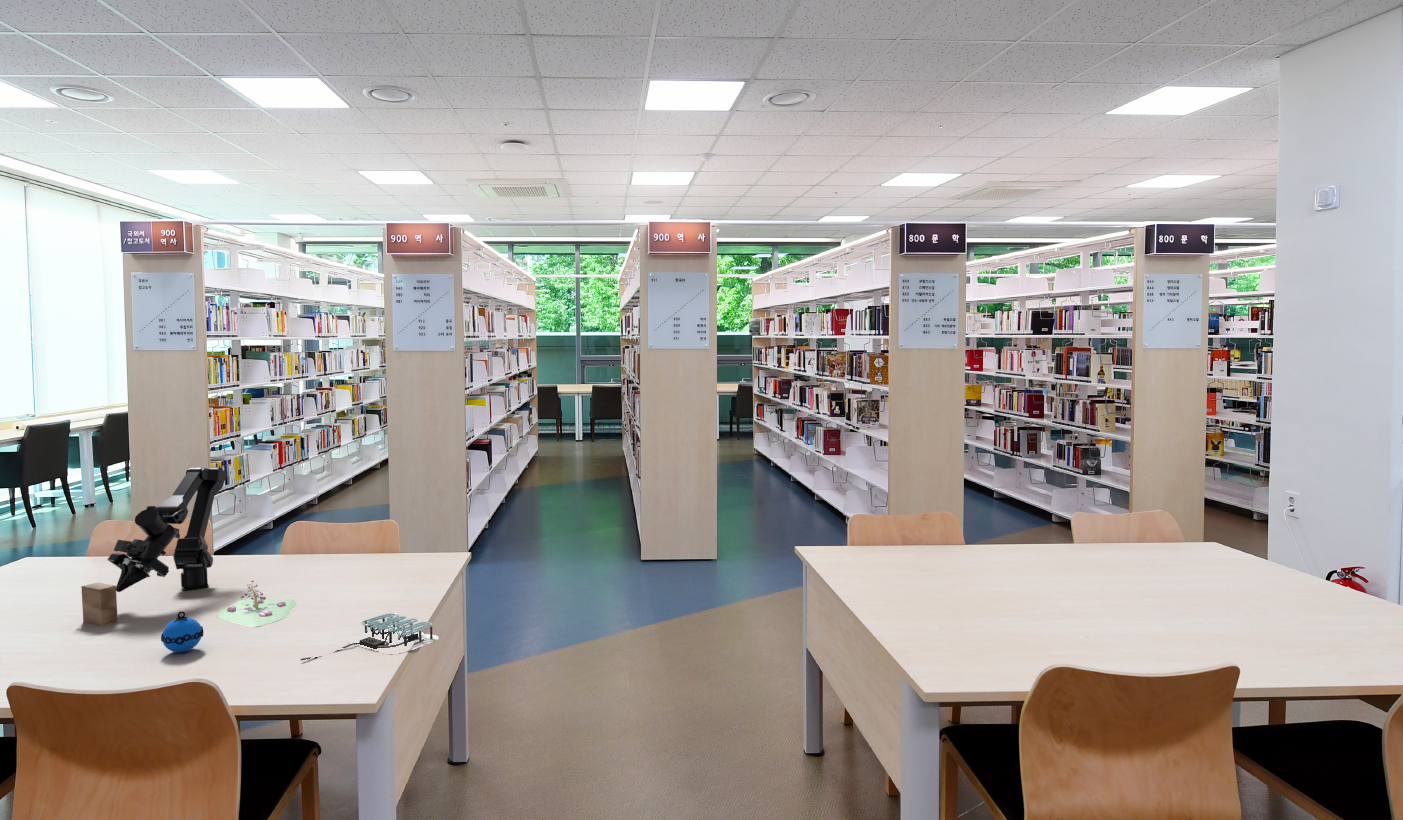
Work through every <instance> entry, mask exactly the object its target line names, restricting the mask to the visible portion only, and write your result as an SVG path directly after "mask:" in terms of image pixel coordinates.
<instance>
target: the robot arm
mask: <svg viewBox="0 0 1403 820" xmlns="http://www.w3.org/2000/svg"><path fill="white" fill-rule="evenodd" d="M226 480H227V472H226V471H225V470H224V468H222V467H220V466H219V467H218V466H215V467H206V466H205V467H190V468H187V469H186V471H185V475H184V477H183V478H182V480H181V481H180V482H179V484H178V486H177V487H176V489H175V490H174V491H173V493H172V494H171V496H169V498H166V499H164V500H163V501H161V502H160V503H159V504H158V506H156V505H147V506H146V508H145V509H144V510H142V511H140V512H139V513H137V515H135V517H134V524H136V526H137V527H139V528H140V530H141V531H142V532H143V533H144V534H145V535H147V536H146V537H145V539H144V540H143V539H139V538H138V539H137V538H134V539H133V540H132V541H130V540H125V539H124V540H123V539H117V541H116V543H115V545H114V548H113V551H114V553H110V555H109V556H108V558H107V560H106V561H108V562H110V563H111V564H112V565H114V566H116V567H117V568H118V569H120V570H121V571H120V572H121V573H120V576H119V577H118V581H117V583H116V585H115V586H116V593H121V592H122V591H124V590H127V589H128V588H130V587H132V586H133V585H135V584H136V583H139V582H141V581H143V580H144V579H147V578H150V577H151V575H150V574H151V572H152V571H154V572H155V573H156V576H157V577H161V578H165V577H166V576H167V575H168V573H169V572H170V571H169V569H170V568H169V566H168V565H167V564H166V563H163V562H162V561H161V560H159V559H158V558H160V556H165V554H166V553H167V552H166V551H165V550H166V549H167V547H168V546H169V545H170V543H171V542H172V541H173V539H174V538H175V539H177V540H176V546H175V549H174V550H173V551H174V552H173V561H174V564H175V569H176V570H182V572H180V586H181V588H183V591H191V590H197V589H198V590H199V589H203V588H209V587H210V586H209V585H210V584H209V582H208V568H212V566H213V565H214V564H213V563H214V558H213V556H212V555H211V553H210V552H209V550H208V548H209V546H208V543H207V541H206V539H205V537H206V532H207V529H208V524H209V519H210V516H211V512H212V507H213V504H214V499H215V496H216V495H217V494H218V493H219V492H220V491H221V490H222V489H223V487H224V484H225V481H226ZM195 494H196V496H195ZM194 496H195V499H194V504H193V508H192V513H191V515H190V520H189V523H188V528H187V531H186V535H184V537H183V538H181V534H180V528H176V527H174V526H173V525H181V524H183V523H184V522H185V520H186V518H187V516H188V514H189V509H188V505H189V504H190V502H191V500H192V498H193V497H194ZM121 552H122V553H121ZM125 553H126V554H125Z"/></svg>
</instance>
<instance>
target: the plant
mask: <svg viewBox="0 0 1403 820" xmlns="http://www.w3.org/2000/svg"><path fill="white" fill-rule="evenodd" d="M254 582H255V581H254V580H251V584H247V585H246V586H248V587H247V589H249V590H247V592H248V593H249V592H251V593H249V594H248V593H244V595H242V596H241V597H240V598H241V599H240V600H237V601H235V602H233V603H231V604H230V605H228V606H227V607H224V608H223V609H221V610H219V611H218V613H217V615H216V617H217V618H218V619H221V620H224V621H226V622H229V623H233V624H236V625H241V626H243V627H244V626H245V627H249V628H257V627H263V626H267V625H271V624H273V623H276V622H279V621H282V620H284V619H286V618H288V616H290V614H291V613H292V612H291V610H292V611H294V609H295V608H296V607H297V606H296V603H297V602H296V601H295V600H294V599H287V598H286V599H285V598H266V596H263V595H264V593H262V592H261V591H260V592H259V590H256V589H255V588H257V587H258V586H259V585H258V584H257V583H255V585H254V586H253V585H252V583H254ZM253 588H254V589H253ZM258 593H260V595H259V594H258ZM245 597H246V598H245ZM295 606H296V607H295ZM294 607H295V608H294ZM292 608H294V609H292ZM290 612H291V613H290Z"/></svg>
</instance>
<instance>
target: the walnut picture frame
mask: <svg viewBox="0 0 1403 820" xmlns="http://www.w3.org/2000/svg"><path fill="white" fill-rule="evenodd" d="M80 586H81V585H80ZM116 586H117V585H114V584H108V583H104V582H103V583H102V582H93V583H90V584H89V583H88V584H86V585H82V586H81V587H80V589H81V601H82V602H81V603H82V605H81V607H82V621H83V623H84V624H90V625H94V626H99V627H104V626H107V625H111V624H114V623H118V622H119V621H118V618H119V617H118V604H117V603H118V602H117V600H118V599H117V591H116Z"/></svg>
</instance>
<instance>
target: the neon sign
mask: <svg viewBox="0 0 1403 820" xmlns="http://www.w3.org/2000/svg"><path fill="white" fill-rule="evenodd" d="M381 619H382V622H381ZM418 621H419V619H418V618H414V617H413V618H409V619H407V616H405V615H402V616H400V614H398V613H393V612H391V613H385V614H381V615H377V616H374V617H371V618H367V619H364V620H362V621H361V622H360V624H361V625H362V626H364V632H365V633H367V632H368V631H369V630H370V631H371V632H372V637H374V634H376V635H378V634H379V633H380V634H381V635H382V639H384V634H387V633H388V634H387V636H386V638H385V641H381V640H378V639H375V638H371V637H367V638H364V639H361V640H359V643H352V644H349V643H348V644H347V645H345V646H342V647H341V648H344V649H346V648H349V647H351V646H353V645H354V646H356V645H355V644H360V645H364V646H367V647H370V648H373V649H377V648H390V647H396V646H399V645H402V644H404V646H407V643H408V642H411V641H415V640H416V642H415V643H414V645H413V647H412V649H411V650H410V651H409V652H411V651H413V650H417V649H419V648H422V647H425V646H428V645H430V644H433V643H436V642H437V641H439V639H440V638H439V636H438V635H436V634H433V623H432V622H429V621H420V622H418ZM392 625H393V626H392ZM388 626H389V627H388ZM400 626H401V627H400ZM395 627H397V628H396V629H395ZM368 628H369V630H368ZM375 628H377V629H375ZM389 628H391V629H389ZM385 629H388V632H384V630H385ZM427 629H429V633H424V632H423V631H424V630H427ZM377 630H378V633H376V632H375V631H377ZM381 630H382V633H381ZM402 630H403V631H402ZM409 630H410V631H409ZM399 631H402V633H401V635H400V633H398V632H399ZM406 631H408V632H406ZM413 631H414V632H413ZM392 632H393V634H394V633H395V632H396V633H397V634H398V640H400V638H401V637H402V638H403V639H404V642H402V643H399V644H396V645H390V646H388V645H389V643H392ZM416 632H419V636H418V633H416ZM414 633H416V634H414ZM410 634H411V635H410ZM406 635H409V636H406ZM388 636H389V643H388V642H387V641H386V640H387V637H388ZM407 639H408V640H407ZM385 643H386V644H385ZM311 657H312V656H311ZM311 657H304V658H300V661H306V659H307V660H311V659H310V658H311Z"/></svg>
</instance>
